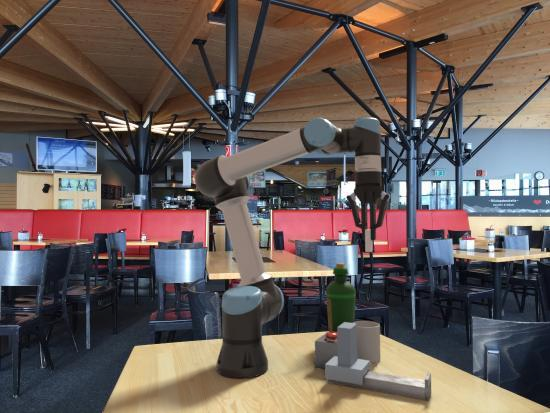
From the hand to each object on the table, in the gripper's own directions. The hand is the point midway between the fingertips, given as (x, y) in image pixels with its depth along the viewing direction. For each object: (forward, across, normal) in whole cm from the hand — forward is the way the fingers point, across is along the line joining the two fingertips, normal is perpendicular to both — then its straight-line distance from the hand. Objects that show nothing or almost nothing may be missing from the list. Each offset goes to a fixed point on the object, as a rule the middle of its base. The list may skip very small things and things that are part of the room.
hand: (369, 251), depth 126 cm
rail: (+34, +5, -12) cm, 37 cm away
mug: (+35, -4, +10) cm, 36 cm away
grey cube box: (+34, -11, -2) cm, 36 cm away
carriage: (+33, -3, -12) cm, 35 cm away
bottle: (+35, -16, +21) cm, 44 cm away
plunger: (+34, -11, -2) cm, 36 cm away
